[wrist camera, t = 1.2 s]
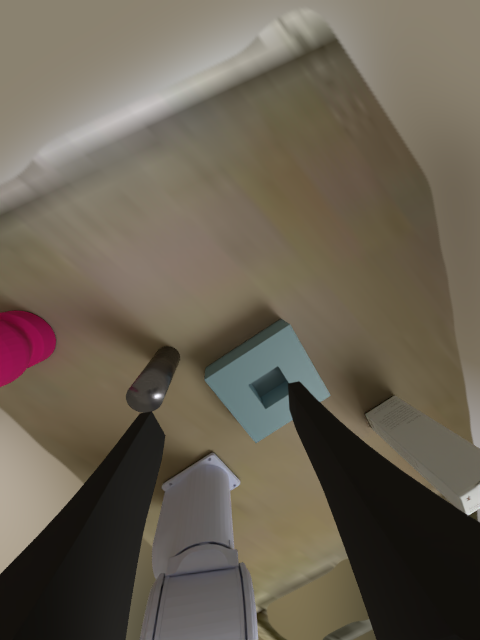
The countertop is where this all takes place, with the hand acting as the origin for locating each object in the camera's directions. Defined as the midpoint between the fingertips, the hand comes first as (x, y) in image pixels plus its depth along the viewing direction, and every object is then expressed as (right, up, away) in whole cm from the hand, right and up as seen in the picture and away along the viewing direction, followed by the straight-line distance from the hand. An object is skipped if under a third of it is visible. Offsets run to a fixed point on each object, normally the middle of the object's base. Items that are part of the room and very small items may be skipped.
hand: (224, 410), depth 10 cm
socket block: (+4, -3, +16) cm, 17 cm away
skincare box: (+25, -10, +21) cm, 34 cm away
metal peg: (-8, 0, +14) cm, 16 cm away
